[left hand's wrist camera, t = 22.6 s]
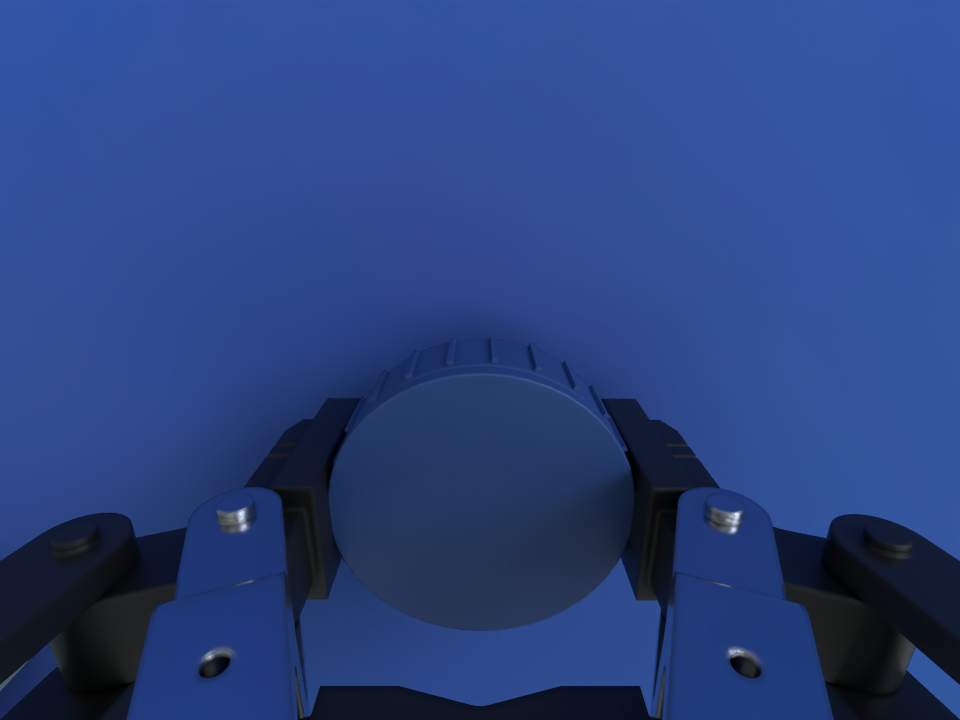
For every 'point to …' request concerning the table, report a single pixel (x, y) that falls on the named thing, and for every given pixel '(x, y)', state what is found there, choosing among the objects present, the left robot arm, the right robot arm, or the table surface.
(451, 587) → the lid
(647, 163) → the table surface
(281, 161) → the table surface
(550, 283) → the table surface
